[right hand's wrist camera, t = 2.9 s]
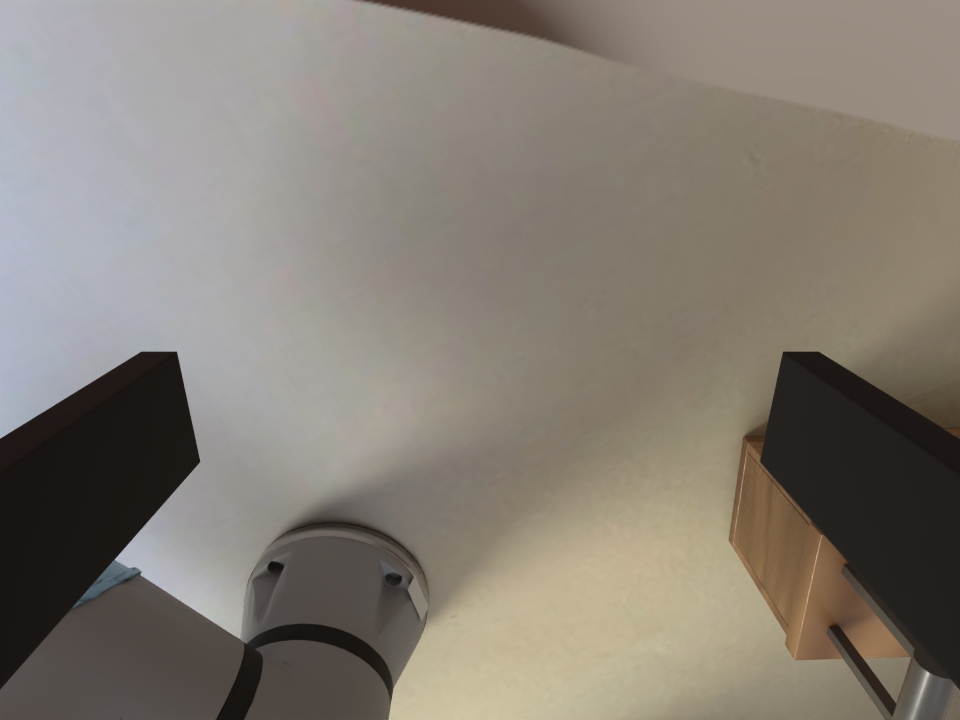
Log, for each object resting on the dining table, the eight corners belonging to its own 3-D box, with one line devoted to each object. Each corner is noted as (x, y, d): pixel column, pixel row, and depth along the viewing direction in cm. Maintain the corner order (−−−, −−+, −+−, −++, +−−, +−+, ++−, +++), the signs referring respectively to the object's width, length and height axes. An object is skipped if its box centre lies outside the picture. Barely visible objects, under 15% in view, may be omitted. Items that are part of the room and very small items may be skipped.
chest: (728, 540, 46) (790, 643, 37) (743, 436, 43) (816, 520, 33) (941, 533, 46) (1059, 634, 36) (975, 427, 42) (1115, 509, 33)
